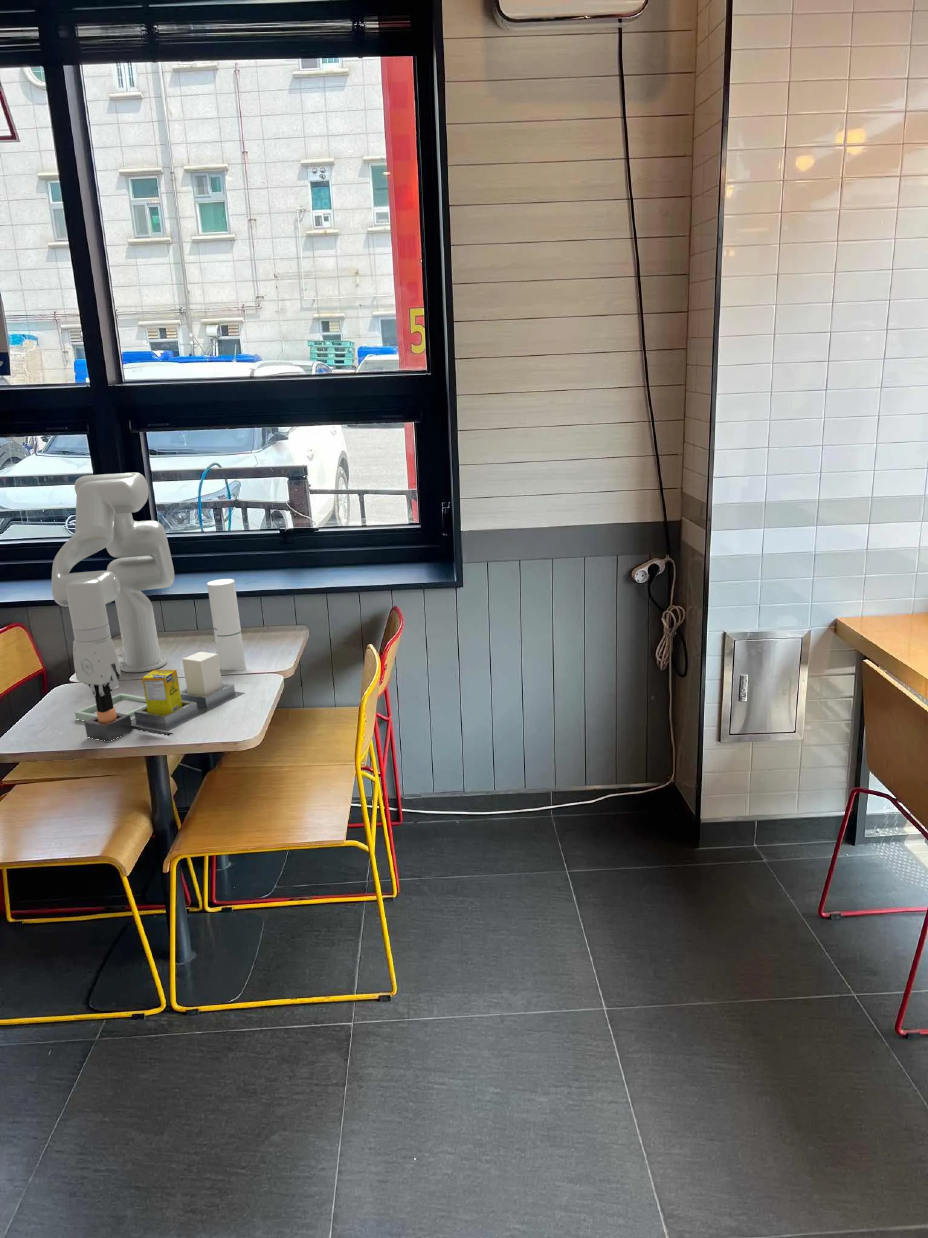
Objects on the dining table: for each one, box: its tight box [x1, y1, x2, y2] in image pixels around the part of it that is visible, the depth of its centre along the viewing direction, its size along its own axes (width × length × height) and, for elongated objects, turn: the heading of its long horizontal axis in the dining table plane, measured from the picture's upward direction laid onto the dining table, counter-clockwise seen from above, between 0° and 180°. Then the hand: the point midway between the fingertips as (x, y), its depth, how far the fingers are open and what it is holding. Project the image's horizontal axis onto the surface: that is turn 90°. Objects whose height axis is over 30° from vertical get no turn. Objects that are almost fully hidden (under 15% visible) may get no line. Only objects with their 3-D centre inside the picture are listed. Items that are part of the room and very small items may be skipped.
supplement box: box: [141, 669, 182, 715], centre depth 211 cm, size 6×6×11 cm
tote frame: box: [74, 692, 147, 721], centre depth 220 cm, size 14×14×2 cm
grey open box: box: [131, 682, 246, 737], centre depth 218 cm, size 14×26×4 cm, turn 152°
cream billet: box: [182, 651, 223, 696], centre depth 222 cm, size 6×6×11 cm
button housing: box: [83, 712, 134, 743], centre depth 207 cm, size 7×7×4 cm
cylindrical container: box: [206, 578, 247, 672], centre depth 245 cm, size 7×7×25 cm
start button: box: [96, 706, 117, 723], centre depth 206 cm, size 4×4×4 cm
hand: (105, 710), depth 205 cm, fingers closed
